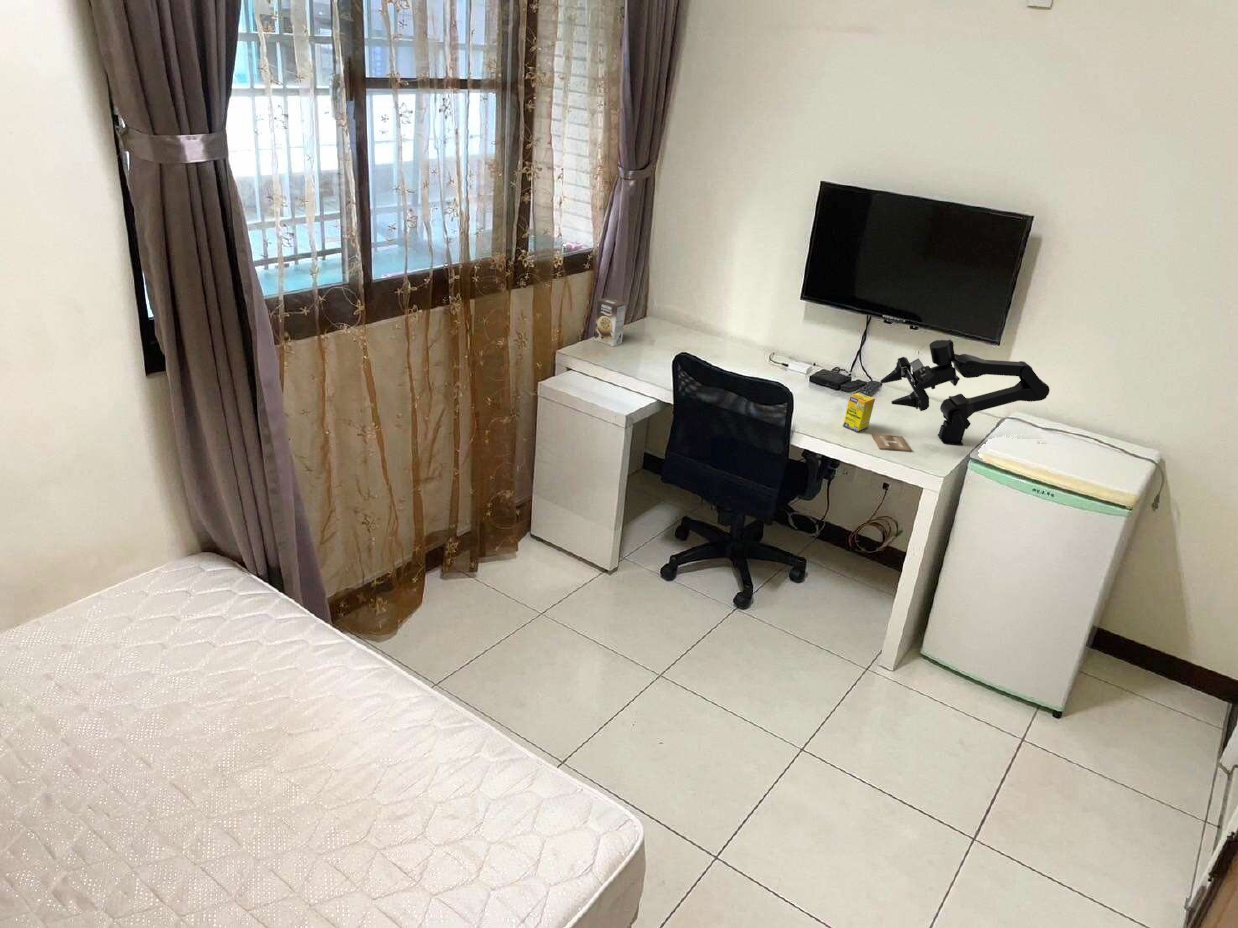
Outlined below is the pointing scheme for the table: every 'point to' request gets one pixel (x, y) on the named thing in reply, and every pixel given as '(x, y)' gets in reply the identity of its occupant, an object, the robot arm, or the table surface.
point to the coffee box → (610, 321)
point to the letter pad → (891, 442)
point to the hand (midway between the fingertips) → (886, 392)
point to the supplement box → (858, 412)
